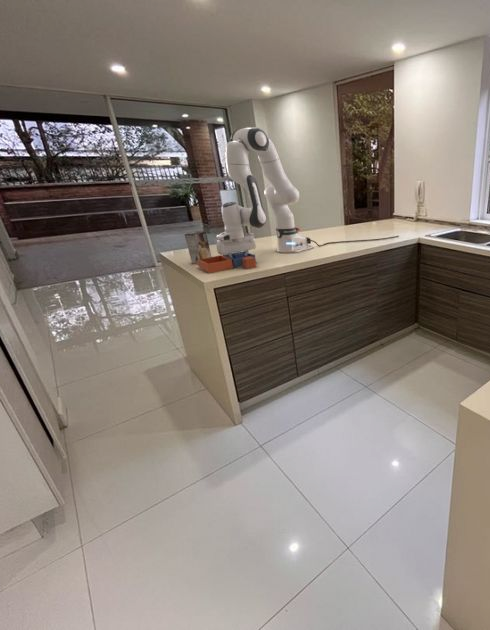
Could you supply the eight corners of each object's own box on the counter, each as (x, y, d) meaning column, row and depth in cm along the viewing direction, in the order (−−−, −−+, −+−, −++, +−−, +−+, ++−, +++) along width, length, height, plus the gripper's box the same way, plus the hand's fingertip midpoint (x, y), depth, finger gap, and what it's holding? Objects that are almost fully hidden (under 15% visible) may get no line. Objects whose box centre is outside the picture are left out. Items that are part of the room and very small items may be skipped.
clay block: (251, 265, 183) (250, 256, 181) (256, 266, 180) (254, 257, 178) (243, 267, 180) (241, 257, 178) (247, 268, 177) (245, 259, 175)
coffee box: (202, 259, 195) (196, 230, 188) (212, 259, 193) (206, 231, 187) (191, 263, 186) (184, 234, 180) (201, 264, 185) (194, 234, 179)
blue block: (242, 260, 190) (240, 251, 188) (246, 262, 187) (244, 253, 185) (233, 262, 186) (231, 253, 184) (237, 263, 183) (235, 254, 181)
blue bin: (245, 259, 195) (243, 251, 193) (256, 263, 187) (255, 255, 185) (224, 263, 187) (222, 255, 185) (234, 267, 179) (233, 259, 177)
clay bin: (222, 263, 186) (220, 255, 184) (233, 268, 178) (231, 259, 176) (199, 268, 178) (197, 259, 176) (209, 273, 170) (207, 264, 168)
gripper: (250, 231, 189) (254, 255, 195) (213, 236, 176) (218, 262, 181) (255, 232, 185) (259, 257, 191) (218, 238, 172) (223, 264, 177)
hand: (239, 259), depth 186 cm, fingers open, 6 cm apart
